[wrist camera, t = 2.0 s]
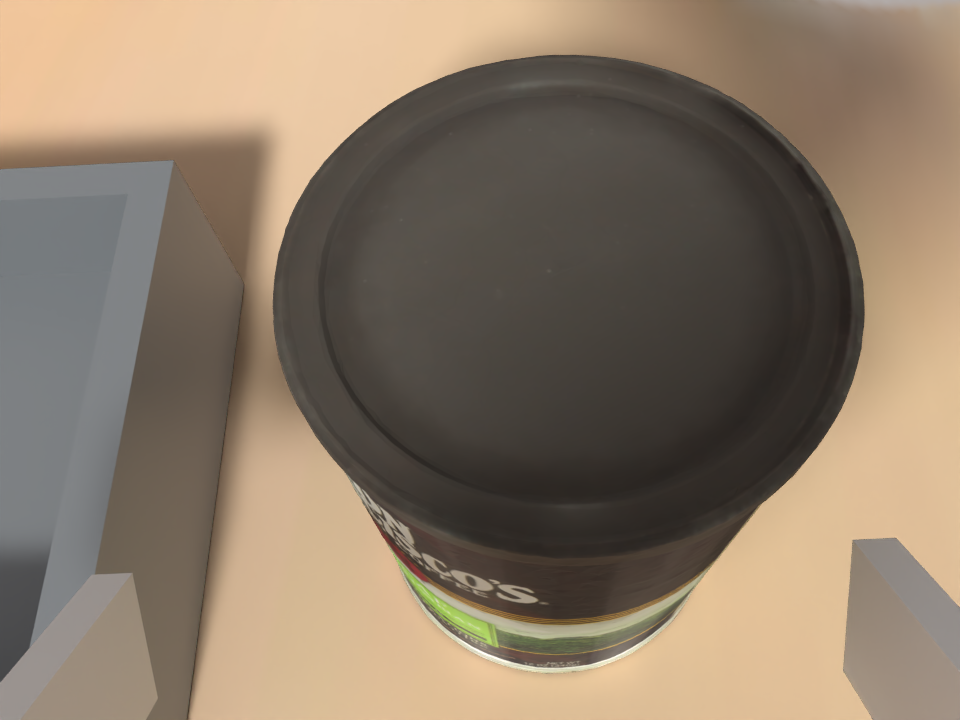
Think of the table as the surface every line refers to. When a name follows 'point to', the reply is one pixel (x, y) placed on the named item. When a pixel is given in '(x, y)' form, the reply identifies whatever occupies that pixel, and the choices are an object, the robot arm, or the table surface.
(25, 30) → the table surface
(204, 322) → the bin
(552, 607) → the coffee can
